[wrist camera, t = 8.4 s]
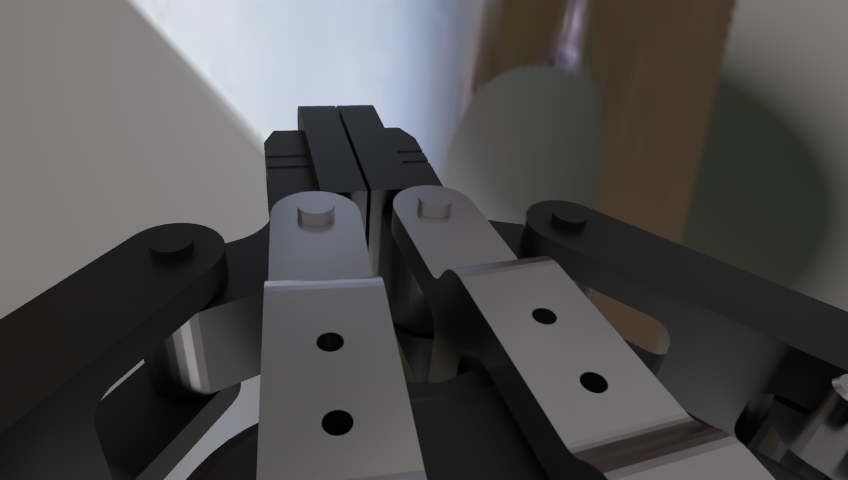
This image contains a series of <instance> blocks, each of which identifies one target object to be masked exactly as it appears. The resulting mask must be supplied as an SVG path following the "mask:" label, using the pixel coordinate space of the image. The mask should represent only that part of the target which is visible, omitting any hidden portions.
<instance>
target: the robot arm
mask: <svg viewBox="0 0 848 480" xmlns="http://www.w3.org/2000/svg"><path fill="white" fill-rule="evenodd" d="M264 149H265V164H266V180H267V195H268V211H269V219H270V220H269V222H268V223H267V224H266V225H265V226H264V227H263V228H262V229H261V230H259V231H258V232H256V233H254V234H252V235H250V236H248V237H246V238H243V239H240V240H236V241H233V242H229V243H225V242H224V239H223V238H222V236H221V235H220V234H219V233H217V232H216V231H214V230H213V229H211V228H208V227H206V226H202V225H198V224H191V223H174V224H165V225H160V226H156V227H153V228H149V229H147V230H144V231H142V232H140V233H138V234H136V235H134V236H132V237H131V238H129V239H127V240H126V241H124V242H123V243H121V244H120V245H118V246H116V247H115V248H113V249H112V250H110V251H108V252H107V253H105V254H104V255H102V256H100V257H99V258H97V259H96V260H94V261H93V262H91V263H89V264H88V265H86V266H85V267H83V268H81V269H80V270H78V271H77V272H75V273H74V274H72V275H70V276H69V277H67V278H66V279H64V280H63V281H61V282H59V283H58V284H56V285H55V286H53V287H51V288H50V289H48V290H46V291H45V292H43V293H42V294H40V295H39V296H37V297H35V298H34V299H32V300H31V301H29V302H28V303H26V304H24V305H23V306H21V307H20V308H18V309H16V310H15V311H13V312H12V313H10V314H8V315H7V316H5V317H4V318H2V319H0V480H163V479H164V478H165V477H166V476H167V475H168V474H169V473H170V472H171V471H172V470H173V468H174V467H175V466H176V465H177V464H178V463H179V462H180V461H181V460H182V459H183V457H184V456H185V455H186V454H187V453H188V452H189V451H190V450H191V449H192V447H193V446H194V445H195V444H196V443H197V442H198V441H199V440H200V439H201V437H202V436H203V435H204V434H205V433H206V432H207V431H208V430H209V429H210V428H211V427H212V425H213V424H214V423H215V422H216V421H217V420H218V419H219V418H220V417H221V415H222V414H223V413H224V412H225V411H226V410H227V409H228V408H229V406H231V404H232V403H233V402H234V400H235V399H236V398H237V396H238V394H239V392H240V388H241V382H242V381H245V380H247V379H250V378H252V377H255V376H257V375H260V374H261V376H260V401H259V423H257V424H255V425H253V426H251V427H249V428H247V429H245V430H243V431H242V432H241V433H239V434H237V435H235V436H234V437H232V438H231V439H229V440H228V441H226V442H225V443H224V444H223V445H221V446H220V447H219V448H217V449H216V450H215V451H214V452H213V453H211V454H210V455H209V456H208V457H207V458H206V459H205V460H204V461H203V462H202V463H201V464H200V465H199V466H198V467H197V468H196V469H195V470H194V471H193V472H192V473H191V474H190V476H189V477H188V478H187V479H186V480H848V312H846V311H844V310H842V309H839V308H836V307H834V306H832V305H829V304H827V303H824V302H822V301H819V300H817V299H814V298H812V297H809V296H807V295H804V294H801V293H799V292H797V291H794V290H791V289H789V288H787V287H784V286H781V285H779V284H777V283H774V282H772V281H769V280H767V279H764V278H762V277H759V276H757V275H754V274H752V273H749V272H747V271H744V270H742V269H739V268H737V267H734V266H732V265H729V264H727V263H725V262H722V261H720V260H717V259H715V258H712V257H710V256H707V255H705V254H702V253H700V252H697V251H695V250H692V249H690V248H687V247H684V246H682V245H680V244H677V243H675V242H672V241H670V240H667V239H665V238H662V237H660V236H657V235H655V234H652V233H650V232H647V231H645V230H642V229H640V228H637V227H635V226H632V225H630V224H627V223H625V222H622V221H620V220H617V219H615V218H612V217H610V216H608V215H605V214H603V213H600V212H598V211H595V210H593V209H590V208H588V207H585V206H582V205H579V204H576V203H572V202H567V201H558V200H551V201H543V202H539V203H536V204H534V205H532V206H531V207H530V208H529V209H528V210H527V212H526V216H525V221H524V225H522V224H514V223H505V222H496V221H491V220H487V219H486V217H485V216H484V215H483V214H482V212H481V211H480V210H479V209H478V207H477V206H476V205H475V203H474V202H473V201H472V200H471V199H470V198H469V197H467V196H466V195H465V194H462V193H461V192H458V191H456V190H454V189H450V188H447V187H443V185H442V184H441V182H440V180H439V179H438V177H437V175H436V173H435V172H434V170H433V168H432V167H431V165H430V163H428V160H427V158H426V156H425V155H424V153H422V150H421V148H420V146H419V144H418V143H417V141H416V139H415V138H414V137H412V136H411V135H409V134H408V133H406V132H405V131H403V130H402V129H400V128H384V126H383V124H382V122H381V120H380V118H379V116H378V114H377V112H376V110H375V108H374V106H373V105H350V106H337V107H335V106H299V107H298V130H293V131H273V132H272V134H271V135H270V136H269V137H268V139H267V140H266V141H265V142H264ZM592 290H596V291H598V292H600V293H602V294H604V295H606V296H608V297H611V298H613V299H615V300H617V301H619V302H621V303H623V304H626V305H628V306H630V307H632V308H634V309H636V310H638V311H641V312H643V313H645V314H647V315H649V316H651V317H653V318H655V319H657V320H658V321H660V322H661V323H662V324H663V325H664V326H665V328H666V329H667V331H668V333H669V335H670V346H669V348H668V351H667V353H666V354H663V355H659V354H654V353H651V352H648V351H646V350H644V349H642V348H640V347H638V346H636V345H634V344H632V343H630V342H628V341H626V340H624V339H622V338H621V336H620V335H619V334H618V333H617V332H616V331H615V329H614V328H613V327H612V326H611V325H610V324H609V322H608V321H607V320H606V319H605V318H604V317H603V315H602V314H601V313H600V312H599V311H598V310H597V309H596V307H595V306H594V305H593V304H592V303H591V302H590V300H589V299H590V296H591V293H592ZM143 359H144V362H145V363H144V364H143V365H142V366H141V367H140V368H138V369H137V370H136V371H135V372H134V373H132V374H131V375H130V376H129V377H128V378H127V379H126V380H124V381H123V382H122V383H121V384H120V385H119V386H117V387H116V388H115V389H114V390H113V391H112V392H111V393H109V394H108V395H107V396H106V397H105V398H103V399H102V397H103V396H104V395H105V393H106V392H107V391H108V390H109V388H110V387H111V386H112V385H113V384H115V383H116V382H117V381H118V380H119V379H120V378H121V377H123V376H124V375H125V374H126V373H127V372H129V371H130V370H131V369H132V368H133V367H134V366H136V365H137V364H138V363H139V362H140V361H141V360H143ZM101 399H102V400H101Z"/></svg>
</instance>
